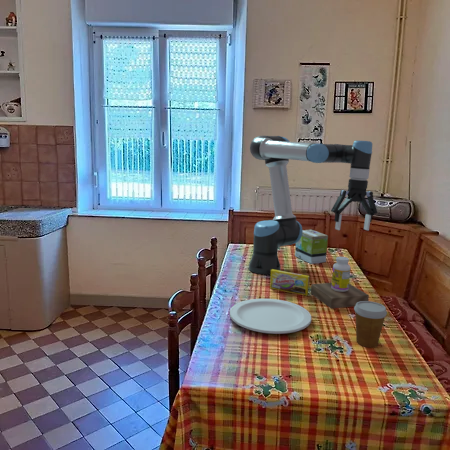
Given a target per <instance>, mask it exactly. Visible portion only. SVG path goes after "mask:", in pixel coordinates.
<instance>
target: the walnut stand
mask: <svg viewBox="0 0 450 450" xmlns="http://www.w3.org/2000/svg"><path fill="white" fill-rule="evenodd" d="M331 284H332V282H323V283H322V282H320V283H312V284H311V285H310V295H312V296H313V297H314V298H316V299H317V300H319V301H320V302H321V303H322V304H324V305H326V306H327V307H328V308H330V309H340V308H349V307H355V306H356V303H357V302H360V301H370V300H369V299H370V298H369V297H370V295H369V294H367V292H364V291H363V290H361V289H359V288H357V287H355V286H354V285H352V284H351V283H349V289H348V291H346V292H338V291H335V290H333V289H332V288H331Z"/></svg>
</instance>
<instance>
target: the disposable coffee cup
mask: <svg viewBox="0 0 450 450" xmlns="http://www.w3.org/2000/svg"><path fill="white" fill-rule="evenodd" d="M386 308H387V307H386V306H385V305H383V304H381V303H379V302H375V301H372V300H371V301H370V300H368V301H360V302H357V303H356V306H353V309H354V312H355V333H356V335H355V336H356V343H357V344H358V345H360V346H362V347H365V348H376V347H378V345H379V341H380V337H381V333H382V330H383V325H384V322H385V318H386V316H387V315H388V311H387V309H386Z"/></svg>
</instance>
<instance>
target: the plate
mask: <svg viewBox="0 0 450 450" xmlns="http://www.w3.org/2000/svg"><path fill="white" fill-rule="evenodd" d="M229 316H230V319H231V320H232V321H233V322H234V324H236V325H238V326H240V327H242V328H245V329H247V330H250V331H254V332H258V333H263V334H279V335H280V334H283V335H284V334H290V333H296V332H300V331H302V330H304V329H305V328H307V327H309V326H310V324H311V323H312V315H311V313H310V312H309V310H308V309H306V308H305V307H303V306H301V305H299V304H296V303H294V302H290V301H287V300H282V299H276V298H252V299H246V300H242V301H239V302H237V303H235V304H234V305H233V306H232V307H231V308H230V310H229Z"/></svg>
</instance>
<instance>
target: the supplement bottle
mask: <svg viewBox="0 0 450 450" xmlns="http://www.w3.org/2000/svg"><path fill="white" fill-rule="evenodd" d="M335 261H336V262H335V263H334V264H333V266H332V274H331V283H332V284H331V288H332V289H333V290H335V291H338V292H346V291H348V289H349V284H350V278H351V265H350V264H349V261H350V259H349V258H348V257H346V256H336V259H335Z"/></svg>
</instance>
